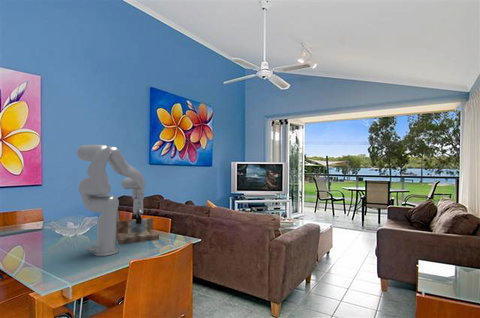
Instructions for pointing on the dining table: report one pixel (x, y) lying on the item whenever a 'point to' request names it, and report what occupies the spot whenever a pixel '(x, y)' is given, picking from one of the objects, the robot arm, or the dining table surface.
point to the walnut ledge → (124, 238)
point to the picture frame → (137, 227)
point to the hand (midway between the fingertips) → (137, 222)
